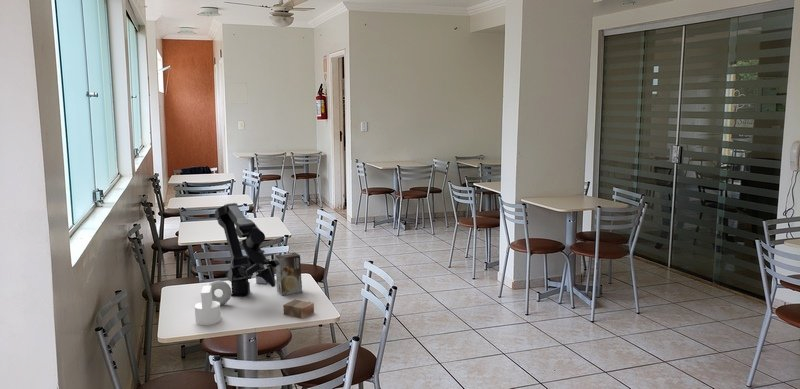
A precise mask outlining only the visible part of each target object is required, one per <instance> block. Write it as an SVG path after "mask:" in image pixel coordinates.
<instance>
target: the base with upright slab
mask: <svg viewBox="0 0 800 389" xmlns="http://www.w3.org/2000/svg"><path fill="white" fill-rule="evenodd" d="M208 285H209V284H208ZM208 285H203V286H202V289H201V292H200V296H201V297H200V298H201V299H200V300H201V301H200V302H197V303H196V304H195V305H194V318H195V323H196V325H200V326H210V325H214V324H217V323H219V322H220V321H221V320H222V314H221V305H220V303H219V302H217V301H213V299H212V285H209V286H208Z"/></svg>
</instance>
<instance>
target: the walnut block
mask: <svg viewBox="0 0 800 389" xmlns="http://www.w3.org/2000/svg"><path fill="white" fill-rule="evenodd" d="M282 309H283V315H284V316H290V317H294V318H299V319H305V318H306V317H308V316H311V315H312V314H315V303H314V302H311V301H306V300H301V299H295V298H294V299H293V300H290V301H288V302H286V303H284V304H283V308H282Z"/></svg>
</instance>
